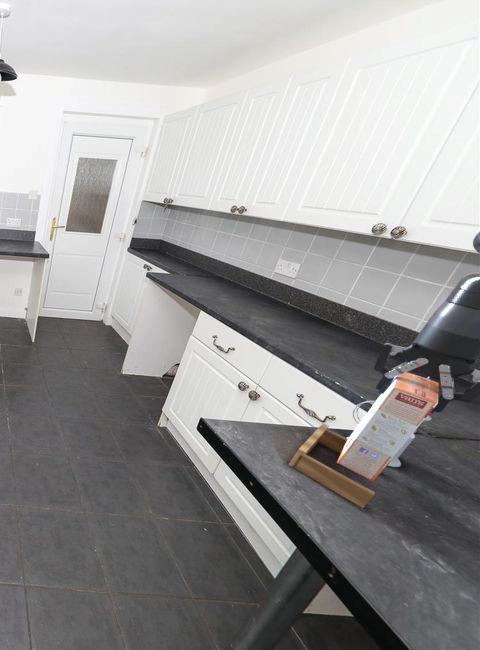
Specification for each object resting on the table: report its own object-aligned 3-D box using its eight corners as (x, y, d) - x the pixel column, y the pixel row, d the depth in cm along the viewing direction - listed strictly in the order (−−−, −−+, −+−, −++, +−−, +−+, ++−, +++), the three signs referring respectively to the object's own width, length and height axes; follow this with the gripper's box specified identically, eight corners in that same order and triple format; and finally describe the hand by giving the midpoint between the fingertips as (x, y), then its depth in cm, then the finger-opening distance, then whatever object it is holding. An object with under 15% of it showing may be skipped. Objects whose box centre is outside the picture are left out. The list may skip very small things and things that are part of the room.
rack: (313, 437, 88) (323, 422, 86) (381, 472, 78) (393, 456, 76) (288, 464, 78) (299, 448, 76) (362, 508, 68) (376, 491, 66)
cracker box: (375, 484, 68) (440, 403, 60) (334, 463, 73) (390, 385, 65) (383, 457, 76) (442, 382, 68) (346, 440, 81) (397, 367, 73)
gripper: (398, 316, 65) (351, 386, 72) (531, 351, 54) (461, 430, 61) (404, 311, 69) (359, 378, 75) (529, 343, 58) (464, 418, 65)
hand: (404, 401), depth 68 cm, fingers closed on cracker box, 6 cm apart
